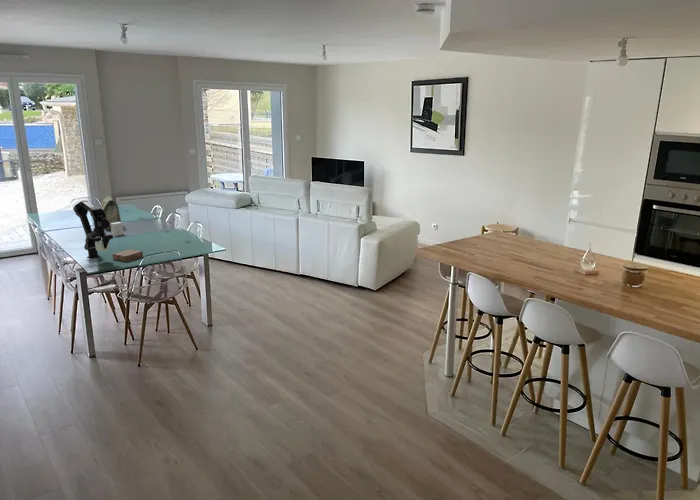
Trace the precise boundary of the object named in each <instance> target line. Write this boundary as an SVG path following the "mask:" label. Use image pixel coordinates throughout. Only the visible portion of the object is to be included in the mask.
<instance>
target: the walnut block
mask: <svg viewBox="0 0 700 500" xmlns="http://www.w3.org/2000/svg"><path fill="white" fill-rule="evenodd" d="M143 253H144V252H143V251H142V250H136V249H130V248H128V249H126V250H122V251H118V252H115V253H112V260H115V261H120V262H126V263H127V262H130V261H134V260H136V259H140V258H141V259H142V258H144V254H143Z"/></svg>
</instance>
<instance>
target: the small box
mask: <svg viewBox="0 0 700 500" xmlns="http://www.w3.org/2000/svg"><path fill="white" fill-rule="evenodd" d="M110 225H111V229H110V232H111V235H112V236H113V237H116V236H121V235H125V232H124V225H123V222H122V221H121V222H115V223H110Z"/></svg>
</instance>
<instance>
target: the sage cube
mask: <svg viewBox="0 0 700 500" xmlns="http://www.w3.org/2000/svg"><path fill="white" fill-rule="evenodd" d="M101 240H102V239H101ZM101 240H100V241H96V242H95V246H96V250H97V251H98V252H103V251H107V250H110V244H109V243H108V245H107V248H106V249H105V248H104V245H103V242H102V241H101Z"/></svg>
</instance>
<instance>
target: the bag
mask: <svg viewBox="0 0 700 500" xmlns="http://www.w3.org/2000/svg"><path fill="white" fill-rule="evenodd" d="M99 208H102V209H103V211H104V213H105V214H106V220H108V221H109V223H115V222H122V220H121V213H120V209H119V205H118V204H117V202H116V201H115V200H113V198H112V197H110V196H109V195H107V196H106V197H105V198H104V199H103V200H102V202H101V206H100V207H99ZM104 230H111V225H109V227H108V228H105V229H104Z"/></svg>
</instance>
